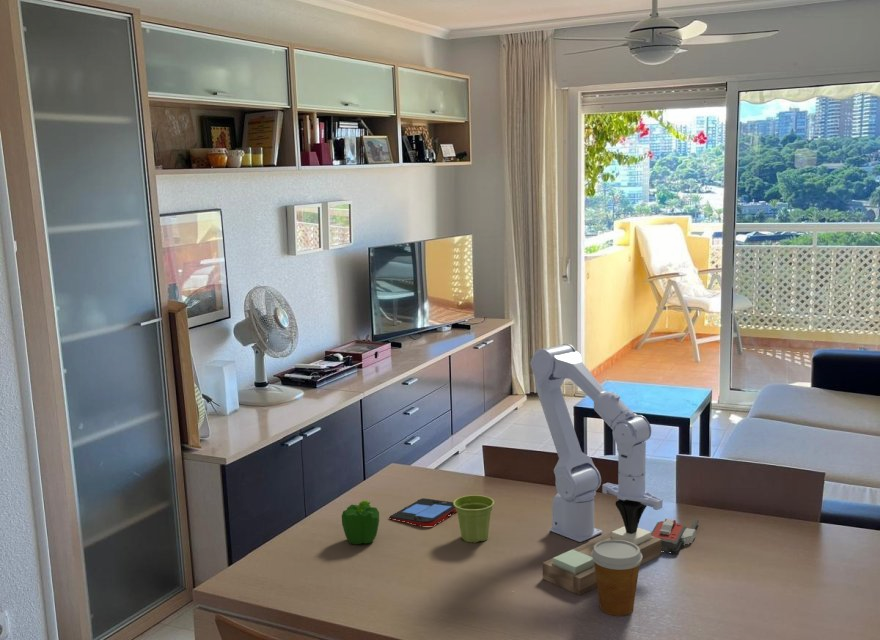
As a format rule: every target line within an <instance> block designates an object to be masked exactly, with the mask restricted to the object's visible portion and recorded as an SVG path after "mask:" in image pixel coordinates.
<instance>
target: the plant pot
mask: <svg viewBox="0 0 880 640" xmlns="http://www.w3.org/2000/svg"><path fill="white" fill-rule="evenodd" d="M452 502H453V504H454V507H455V508H456V511H457V513H456V515H457V517H458V518H457V519H458V523H459V530H460V536H461V539H463V541H464V542H467V543H472V542H473V544H475V543H478V542H480V541H481V542H484V541H487V540H488V538H489V530H490V521H491V514H492V510H493V506H494V505H495V500H494V499H493V498H491V497H489V496H485V495H481V494H472V495H469V494H468V495H464V496H460V497H458V498H455V500H453V501H452Z"/></svg>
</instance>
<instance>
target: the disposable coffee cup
mask: <svg viewBox="0 0 880 640" xmlns="http://www.w3.org/2000/svg"><path fill="white" fill-rule="evenodd" d="M591 556H592V558H593V561H594V565H595V572H596V581H597V587H596V588H597V595H598V602H599V603H598V604H599V609H600V611H602V612H604V613H605V614H606V615H610V616H617V617H620V616H621V617H622V616H627V615H629V614H631V613H632V612H633V611H634V606H635V600H636V593H637V586H638V577H639V573H640V572H639V570H640V566H641V565H640V563H641V560H642V557H643V556H642V554H641V552H640V549H639V547H638V546H637V545H635V544H634V543H631V542H628V541H624V540H604V541H600V542H598V543H596V545H595V546H594V549H593V551H592V552H591Z"/></svg>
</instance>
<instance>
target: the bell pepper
mask: <svg viewBox="0 0 880 640" xmlns="http://www.w3.org/2000/svg"><path fill="white" fill-rule="evenodd" d="M370 504H371V501H369V500H362V501H361V502H359V504H358V505H357V504H350V505H349V506H348V507H346V509H345V510H343V511H342V514H341V526H342V528H343V532H344V535H345V538H346V539H347V541H348V543H350V544H351V545H362V544H370V543H373V542H374V541H375V539H376V536H377V535H378V534H377V533H378V530H379V529H378V528H379V525H380V524H379V523H380V511H379V510H378V508H377V507H374V506H373V507H372V506H371V505H370Z"/></svg>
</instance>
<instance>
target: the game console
mask: <svg viewBox="0 0 880 640" xmlns="http://www.w3.org/2000/svg"><path fill="white" fill-rule="evenodd" d="M453 502H454V501H448V500H447V501H446V500H439V499H430V498H425V497H424V498H420V499H418V500H417V501H415V502H413V503H411V504H410V505H409V504H408V505H407V506H405V507H404V508H402V509H400V510H399V511H397V512H395V513H393V514H391V515H390V516H389V518H391V519H396V520H400V521H405V522H409V523H412V524H416V525H421V526H434V525H435V524H437V523H438V522H440V521H442V520H443V519H445V518H447V517H449V516H448V515H450V514H453V513H455V512H457V511H456V508H455V507H454V504H453ZM455 514H456V513H455ZM449 518H450V517H449ZM391 519H390V520H391ZM447 519H448V518H447ZM445 520H446V519H445ZM442 522H443V521H442ZM440 523H441V522H440ZM416 525H415V526H416ZM437 525H438V524H437ZM435 526H436V525H435ZM435 526H434V527H435Z"/></svg>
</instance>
